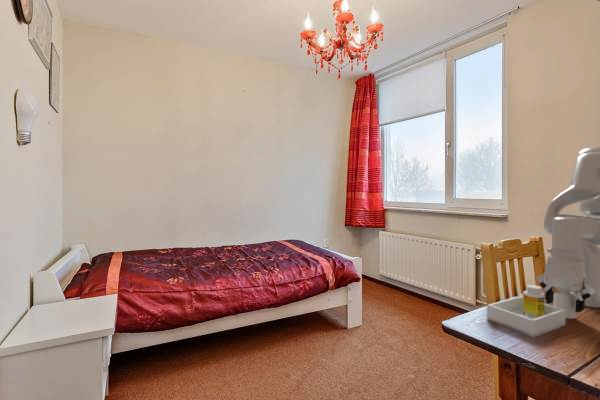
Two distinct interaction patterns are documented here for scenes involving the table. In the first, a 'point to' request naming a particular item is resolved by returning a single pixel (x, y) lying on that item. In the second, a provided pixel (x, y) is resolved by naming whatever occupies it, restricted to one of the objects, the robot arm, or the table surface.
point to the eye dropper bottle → (565, 302)
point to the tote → (512, 317)
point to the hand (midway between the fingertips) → (563, 306)
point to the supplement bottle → (533, 302)
